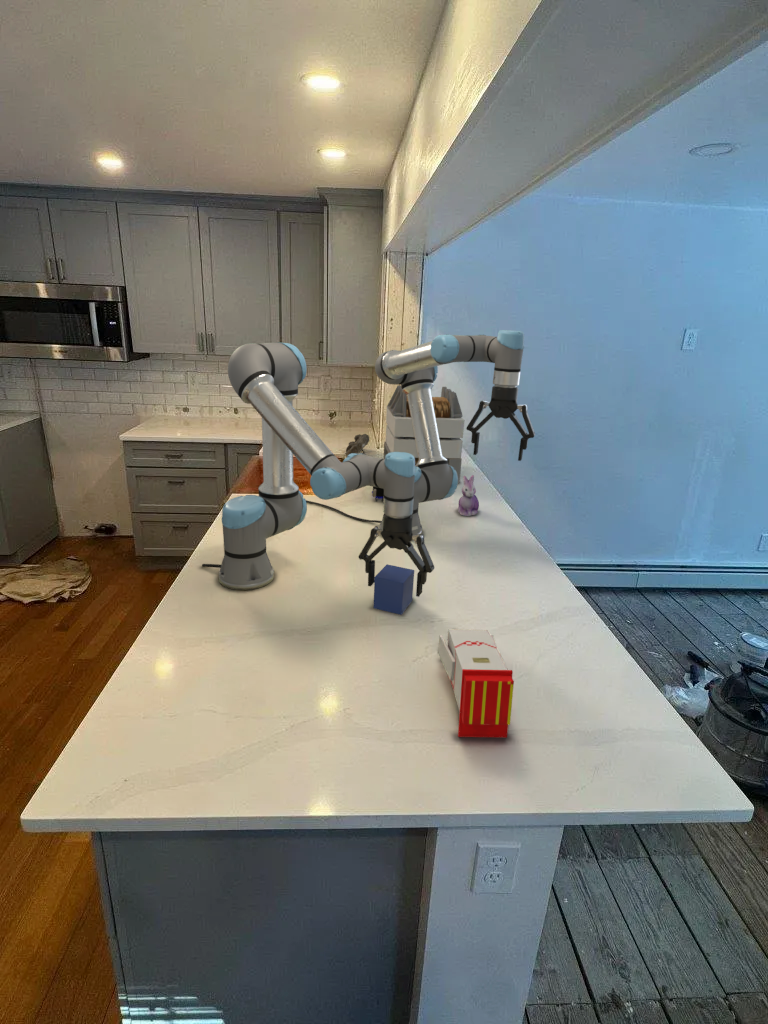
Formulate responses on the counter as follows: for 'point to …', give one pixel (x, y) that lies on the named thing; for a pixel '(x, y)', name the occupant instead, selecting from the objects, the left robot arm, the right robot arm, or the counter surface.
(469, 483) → the figurine
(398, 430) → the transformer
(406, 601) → the block
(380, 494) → the figurine character
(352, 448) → the fossil
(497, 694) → the toy
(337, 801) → the counter surface
